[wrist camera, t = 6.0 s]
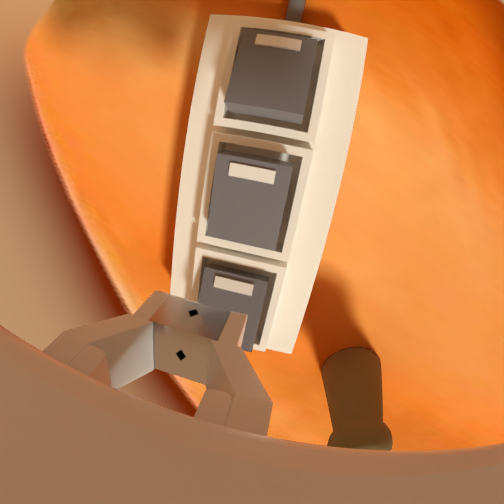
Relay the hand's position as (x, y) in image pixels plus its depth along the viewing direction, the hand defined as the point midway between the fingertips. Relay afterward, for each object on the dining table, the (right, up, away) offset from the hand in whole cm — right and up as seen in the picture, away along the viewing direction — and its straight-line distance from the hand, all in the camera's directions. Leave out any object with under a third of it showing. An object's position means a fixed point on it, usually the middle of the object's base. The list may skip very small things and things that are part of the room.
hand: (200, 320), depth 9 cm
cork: (+11, -9, +18) cm, 23 cm away
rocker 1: (+3, +12, +5) cm, 13 cm away
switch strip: (+3, +10, +12) cm, 16 cm away
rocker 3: (0, -1, +10) cm, 10 cm away
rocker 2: (+1, +5, +8) cm, 9 cm away
